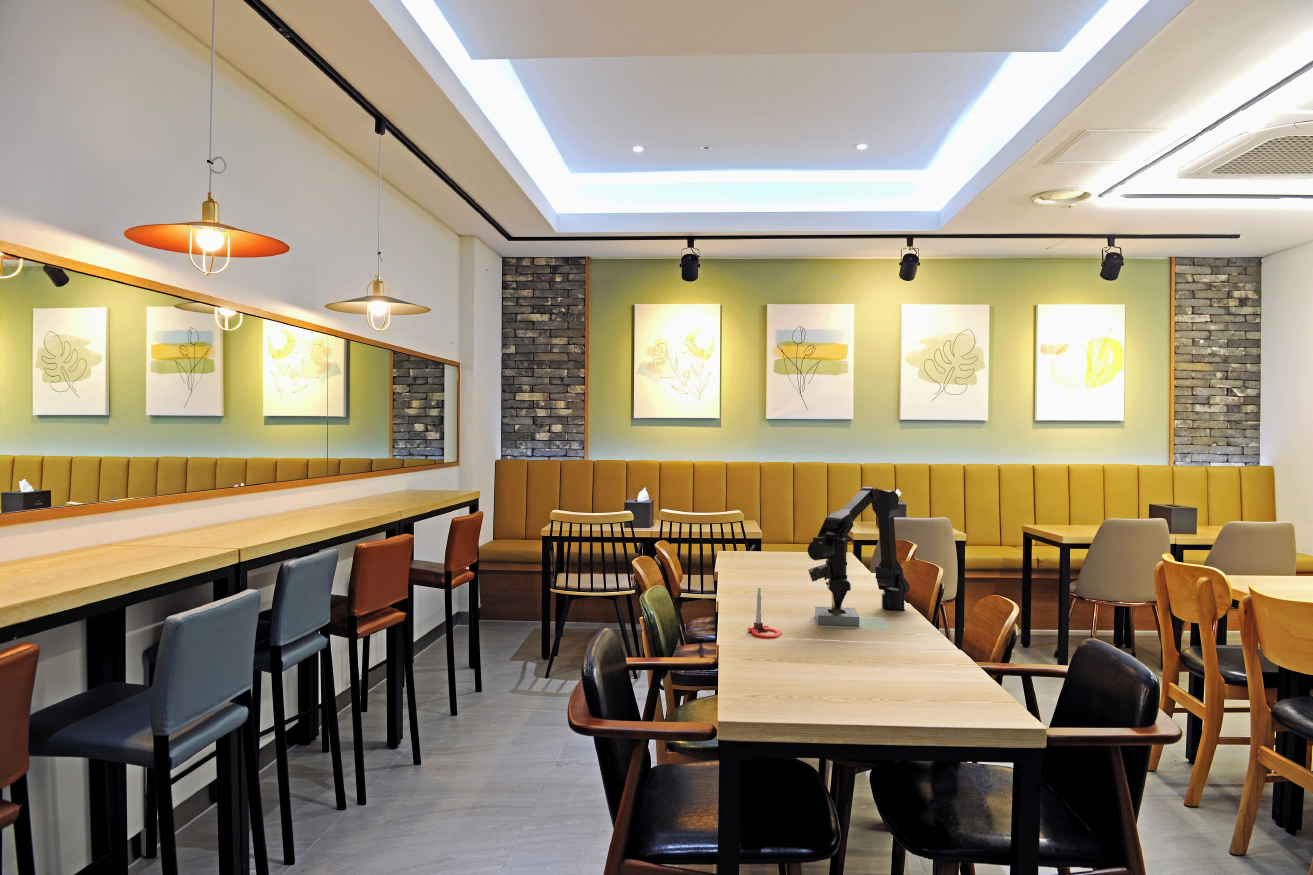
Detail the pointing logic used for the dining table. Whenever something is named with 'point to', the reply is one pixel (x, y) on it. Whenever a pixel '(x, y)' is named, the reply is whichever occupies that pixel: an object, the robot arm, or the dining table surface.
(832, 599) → the pin
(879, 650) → the dining table surface
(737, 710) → the dining table surface
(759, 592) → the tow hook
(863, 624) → the mat
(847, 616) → the block
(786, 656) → the dining table surface
